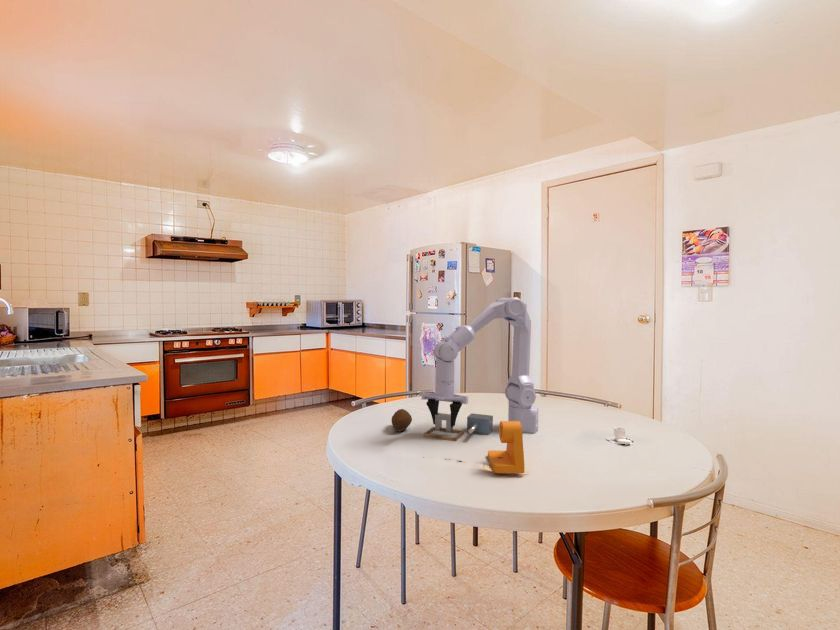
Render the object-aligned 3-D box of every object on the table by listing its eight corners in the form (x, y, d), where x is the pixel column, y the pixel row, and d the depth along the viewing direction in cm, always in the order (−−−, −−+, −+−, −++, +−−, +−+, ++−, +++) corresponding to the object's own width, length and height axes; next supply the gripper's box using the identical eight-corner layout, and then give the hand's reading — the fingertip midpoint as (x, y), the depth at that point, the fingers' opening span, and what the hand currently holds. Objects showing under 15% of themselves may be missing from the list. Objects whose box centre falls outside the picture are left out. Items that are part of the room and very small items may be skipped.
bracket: (487, 460, 117) (487, 415, 116) (514, 460, 117) (514, 416, 116) (494, 476, 106) (495, 427, 105) (524, 476, 106) (525, 427, 106)
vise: (493, 433, 140) (493, 415, 140) (481, 447, 126) (481, 427, 126) (472, 430, 143) (472, 412, 143) (458, 444, 129) (458, 424, 129)
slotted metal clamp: (452, 430, 134) (453, 414, 134) (450, 432, 132) (450, 416, 132) (437, 428, 136) (437, 412, 136) (434, 430, 134) (435, 414, 134)
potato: (411, 424, 149) (411, 404, 149) (412, 435, 138) (412, 413, 138) (391, 424, 149) (391, 404, 149) (391, 435, 138) (391, 413, 137)
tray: (464, 437, 136) (464, 430, 136) (455, 445, 128) (455, 438, 128) (433, 433, 140) (433, 426, 140) (423, 440, 132) (423, 433, 132)
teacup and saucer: (631, 448, 128) (632, 435, 128) (602, 443, 133) (603, 430, 133) (635, 440, 136) (635, 427, 136) (608, 436, 140) (608, 423, 140)
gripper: (417, 380, 133) (417, 425, 133) (463, 384, 127) (462, 431, 127) (426, 377, 139) (425, 419, 140) (470, 381, 134) (469, 425, 134)
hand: (444, 424), depth 134 cm, fingers closed on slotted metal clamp, 5 cm apart
